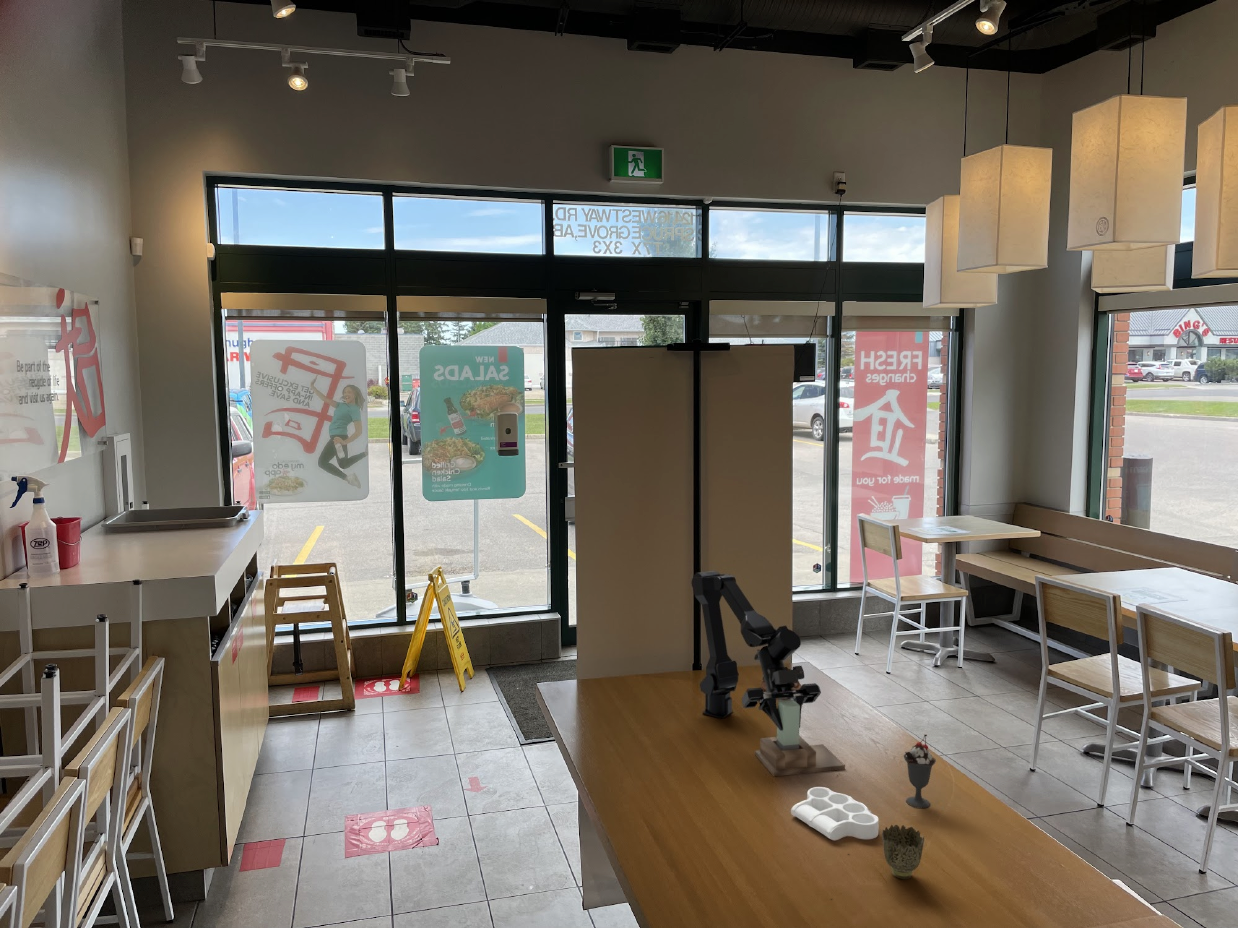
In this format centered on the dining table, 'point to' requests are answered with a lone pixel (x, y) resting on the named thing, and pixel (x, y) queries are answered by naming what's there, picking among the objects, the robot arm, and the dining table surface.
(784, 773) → the wooden socket base
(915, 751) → the sundae
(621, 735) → the dining table surface
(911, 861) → the cup
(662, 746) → the dining table surface
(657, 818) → the dining table surface
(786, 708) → the sage green square pillar
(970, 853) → the dining table surface
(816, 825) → the white brass knuckles
